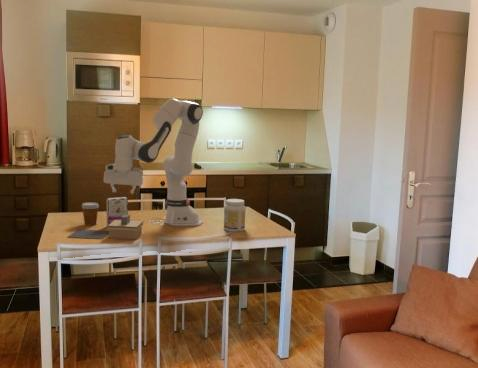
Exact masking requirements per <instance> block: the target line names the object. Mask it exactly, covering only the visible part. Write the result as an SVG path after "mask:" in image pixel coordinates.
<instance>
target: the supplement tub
mask: <svg viewBox="0 0 478 368" xmlns="http://www.w3.org/2000/svg"><path fill="white" fill-rule="evenodd" d="M246 208H247V207H246V206H245V200H244V199H241V198H240V199H239V198H229V199H226V200H225V205H224V209H223V214H224V215H223V229H224V230H225V231H226V232H227V231H228V232H232V233H233V232H234V233H236V232H243V231H245V229H246Z"/></svg>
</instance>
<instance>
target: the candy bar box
mask: <svg viewBox="0 0 478 368" xmlns="http://www.w3.org/2000/svg"><path fill="white" fill-rule="evenodd" d="M105 199H106V200H105V202H106V226H107V225H109V224H110V223H111V222H113V221H114V220H121V217H122V216H123V215H129V211H128V210H129V209H128V203H129V201H128V200H129V199H128V198H127V197H126V196H121V197H120V196H119V197H107V198H105Z"/></svg>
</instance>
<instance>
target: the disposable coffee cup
mask: <svg viewBox="0 0 478 368" xmlns="http://www.w3.org/2000/svg"><path fill="white" fill-rule="evenodd" d="M99 207H100V205H99V203H98V202H90V201H89V202H83V203H82V204H81V208H82V209H81V210H82V215H83V222H84V226H87V227H90V226H96V225H97V222H98V221H97V219H98V211H99Z"/></svg>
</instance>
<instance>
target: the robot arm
mask: <svg viewBox="0 0 478 368" xmlns="http://www.w3.org/2000/svg"><path fill="white" fill-rule="evenodd" d="M203 115H204V109H203V107H202V106H201V105H200V104H199V103H197V102H193V101H190V100H189V101H188V100H180V99H176V98H169V99H168V100H166V101H165V102H164V103H163V104H162V105H161V106H160V108H159V109H158V110H157V111H156V112H155V113H154V115H153V117H152V122H153V125H154V127H155V128H156V129H157V130H156V133H155V134H154V135H153V137H152V138H151V139H150V140H149V141H147V142H142V141H139V140H137V139H135V138H134V137H132V135H130V134H125V135H124V134H122V135H119V136H117V138H116V139H115V147H114V148H115V149H114V154H115V159H114V163H110V164H108V165H105V170H104V173H103V183H104V184H109V185H110V188H111V190H112V191H111V192H112V193H117V188H115V187H114V186H115V185H125V186H131V187H132V189H130V190H129V194H131V195H134V193H135V192H134V191H135V190H136V187H137V186H139V187H140V186H143V184H144V180H143V179H144V178H143V175H144V171H143V169H142V168H140V167H133V160H137V161H140V162H144V163H148V164H149V163H150V164H151V163H154V162H155V161H156V160H157V158H158V155H159V154H160V150H161V148H162V147H163V145H164V143H165V142H166V140H167V138H168V137H169V135H170V133H171V131H172V127H173V125H174V124H175V122H176V121H177V119H178V120H181V124H180V126H179V129H178V131H177V132H178V133H177V136H176V138H175V141H174V155H170V156H168V157H166V158H164V160H163V163H162V166H163V169H164V172H165V178H166V184H167V187H166V188H167V196H166V197H167V198H166V203H165V204H166V205H165V206H166V214H165V219H164V222H163V223H165V224H166V225H170V226H173V227H178V226H179V227H181V226H182V227H191V226H192V227H196V226H197V227H198V226H202V224H203V219H201V218H200V216H199V212H198V211H197V210H196V209H195V208H194V207H192V206H191V205H190V203H191V202H190V201H191V200H190V199H188V198H187V184H186V182H185V177H188V176H190V175H191V174H192V172H193V165H192V160H193V152H194V147H195V144H196V141H197V137H198V134H199V128H200V121H201V119H202V118H203Z"/></svg>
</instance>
